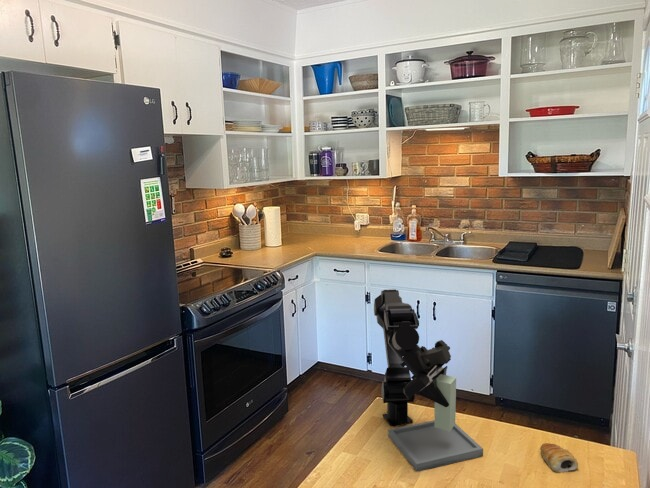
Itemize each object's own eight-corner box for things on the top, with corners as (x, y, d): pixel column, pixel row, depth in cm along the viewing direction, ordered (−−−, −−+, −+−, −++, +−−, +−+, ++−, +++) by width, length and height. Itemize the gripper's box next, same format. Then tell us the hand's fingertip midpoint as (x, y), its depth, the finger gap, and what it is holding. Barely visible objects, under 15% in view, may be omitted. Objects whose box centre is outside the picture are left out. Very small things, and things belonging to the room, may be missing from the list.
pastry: (532, 451, 124) (533, 437, 124) (558, 448, 125) (558, 434, 124) (554, 474, 115) (555, 459, 114) (581, 471, 116) (582, 456, 115)
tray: (388, 436, 132) (388, 429, 132) (448, 423, 138) (448, 417, 137) (416, 471, 117) (416, 464, 117) (483, 456, 123) (483, 448, 122)
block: (434, 427, 125) (434, 380, 122) (439, 419, 128) (440, 374, 126) (450, 431, 123) (450, 383, 120) (455, 424, 126) (456, 377, 124)
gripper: (415, 346, 115) (462, 402, 112) (443, 323, 131) (485, 371, 127) (385, 371, 121) (428, 425, 117) (415, 346, 137) (454, 393, 133)
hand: (450, 402), depth 123 cm, fingers closed on block, 4 cm apart
